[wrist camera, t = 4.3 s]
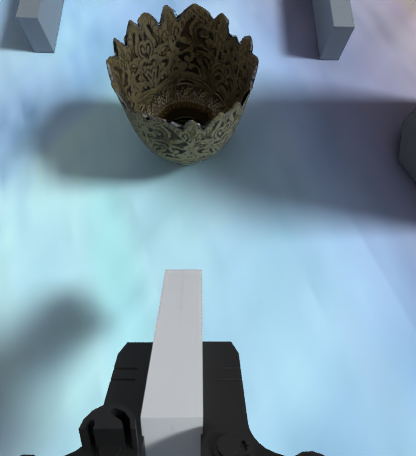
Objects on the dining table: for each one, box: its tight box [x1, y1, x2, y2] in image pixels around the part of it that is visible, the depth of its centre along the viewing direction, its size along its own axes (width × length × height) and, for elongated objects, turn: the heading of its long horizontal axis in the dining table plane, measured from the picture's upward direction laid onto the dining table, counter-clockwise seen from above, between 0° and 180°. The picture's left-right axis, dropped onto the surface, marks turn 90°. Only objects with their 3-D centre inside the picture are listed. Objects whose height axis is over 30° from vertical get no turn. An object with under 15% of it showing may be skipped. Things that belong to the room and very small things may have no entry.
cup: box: [106, 3, 259, 165], centre depth 21 cm, size 8×7×8 cm
